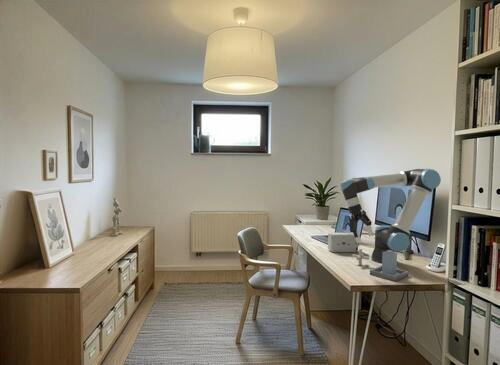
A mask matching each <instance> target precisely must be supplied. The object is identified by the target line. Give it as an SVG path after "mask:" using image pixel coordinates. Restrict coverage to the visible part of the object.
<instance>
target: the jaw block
mask: <svg viewBox="0 0 500 365" xmlns="http://www.w3.org/2000/svg"><path fill="white" fill-rule="evenodd" d="M381 266H382V273H385V274H389V275H392V276H393V275H395V274H396V269H398V268H397V266H398V252H396V251H394V252H393V251H392V250H387V251H385V252H383V254H382V263H381Z"/></svg>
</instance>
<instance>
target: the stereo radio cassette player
mask: <svg viewBox="0 0 500 365" xmlns="http://www.w3.org/2000/svg"><path fill="white" fill-rule="evenodd" d="M333 226H335V227H337V228H338V229H340V230H341V231H343V232H328V233H327V249H328V250H329V252H331V253H358V252H359V243H357V242H356V239H355V237H354V234H353V232H350V231H349V232H348V231H347V230H345V229H343V228H340V227H339V226H337V225H335V224H333Z"/></svg>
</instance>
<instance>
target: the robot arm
mask: <svg viewBox="0 0 500 365" xmlns="http://www.w3.org/2000/svg"><path fill="white" fill-rule="evenodd" d="M440 175H441V174H440V173H439V172H438V171H437V170H435V169H431V168H415V169H410V170H406V171H400V172H399V173H393V174H380V175H373V176H363V177H352V178H350V179H346V180H344V181H341V182H340V183H339V184H340V189H341V191H342V195H343V197H344V200H345V203H346V206H347V210H348V212H349V213H350V215H348V218H349V233H353V234H354V237H355V239H356V242H357V243H358V244H359V243H362V239H361V237H360V234H359V231H358V223H359V221H361V222H362V223H363V224H364V225H365V230H366V231H367V234H368V235H367V236H368V237H374V247H373V252H372V254H371V257H370V259H371V260H372V261H374V262H376V263H381V264H382V254H383V252H385V251H387V250H392V251H393V252H402V251H405V250H406V249H407V248H408V247H409V246H410V243H411V242H410V238H409V237H410V235H411V232H410V229H411V227H412V225H413V223H414V221H415V219H416V217H417V215H418V213H419V211H420V209H421V207H422V205H423V203H424V201H425V200H426V198H427V196H428V195H430V194H432V191H433V189H436V188H438V187H439V186H440V184H441V176H440ZM394 186H395V187H396V186H402V187H411V188H412V189H411V191H410V193H409V195H408V197H407V199H406V201H405V203H404V205H403V207H402V210H401V211H400V212H399V215H398V217H397V219H396V221H395V223H393V224H391V225H376V226H375V229H374V232H373V230H372V227H371V226H372V220H371V219H370V218H369V216H368V215H367V213H366V212H365V210H364V209H363V208H362V205H361V203H360V199H359V197H358V194H361V193H364V192H367V191H370V190H373V189H376V188H383V187H385V188H386V187H394Z"/></svg>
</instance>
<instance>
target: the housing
mask: <svg viewBox="0 0 500 365" xmlns="http://www.w3.org/2000/svg"><path fill="white" fill-rule="evenodd" d="M369 275H371V276H375V277H378V278H382V279H385V280H388V281H392V282H399V281H400V280H403V279H405V278H408V277H409V271H406V270H403V269H399V268H396V274H395V275H393V276H392V275H389V274H385V273H382V265H380V266H378V267H374V268H371V269H370V270H369Z"/></svg>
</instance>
